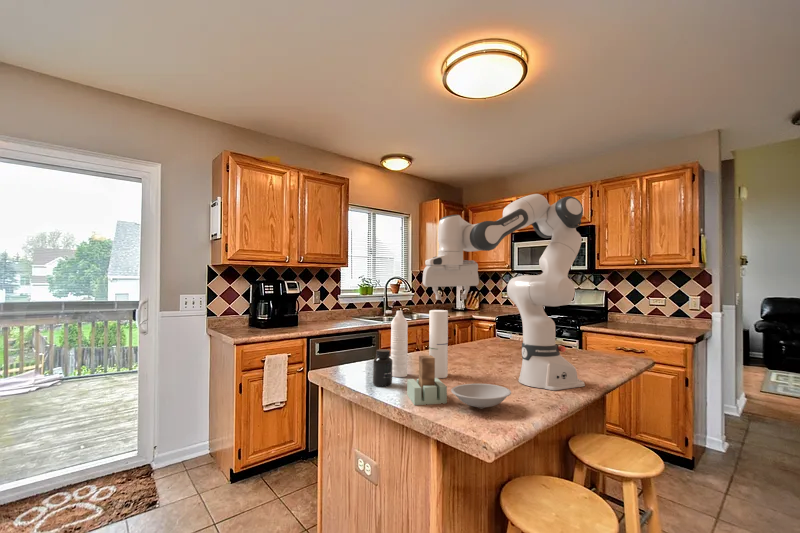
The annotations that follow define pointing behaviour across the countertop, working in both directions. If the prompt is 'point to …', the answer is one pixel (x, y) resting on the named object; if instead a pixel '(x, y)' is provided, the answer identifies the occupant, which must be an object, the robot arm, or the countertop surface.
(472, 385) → the dish
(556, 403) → the countertop surface
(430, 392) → the socket
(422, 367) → the peg
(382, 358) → the supplement bottle
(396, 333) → the water bottle
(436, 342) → the cylindrical container
